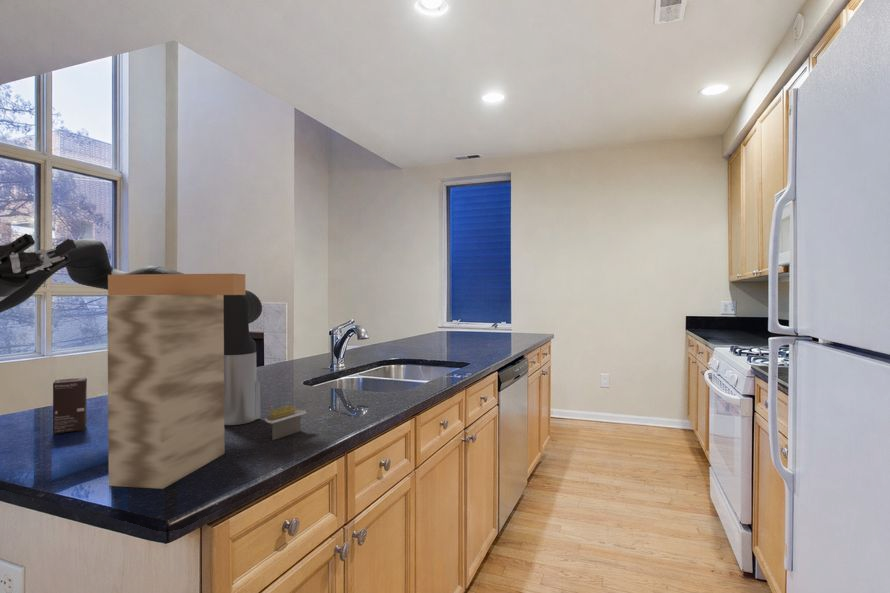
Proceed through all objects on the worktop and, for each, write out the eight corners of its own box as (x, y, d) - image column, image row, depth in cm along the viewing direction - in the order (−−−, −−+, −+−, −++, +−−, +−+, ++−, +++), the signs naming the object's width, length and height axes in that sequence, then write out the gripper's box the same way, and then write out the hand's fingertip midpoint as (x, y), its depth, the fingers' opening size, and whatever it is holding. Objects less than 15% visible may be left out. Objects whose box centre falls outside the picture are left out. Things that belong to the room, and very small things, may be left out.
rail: (108, 295, 90) (107, 274, 90) (124, 295, 94) (124, 275, 94) (233, 294, 87) (233, 273, 87) (245, 294, 91) (245, 274, 91)
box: (52, 435, 106) (52, 382, 106) (55, 430, 110) (54, 379, 110) (85, 430, 110) (85, 379, 110) (87, 426, 113) (86, 377, 113)
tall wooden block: (108, 485, 78) (107, 295, 78) (179, 451, 95) (177, 295, 95) (163, 488, 77) (161, 295, 76) (224, 453, 94) (223, 294, 93)
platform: (232, 443, 101) (232, 413, 101) (296, 423, 117) (296, 397, 117) (268, 452, 95) (268, 421, 95) (331, 430, 111) (331, 402, 111)
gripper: (-59, 263, 87) (6, 218, 85) (20, 267, 101) (77, 229, 99) (-41, 298, 87) (24, 253, 85) (35, 297, 101) (93, 259, 99)
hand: (53, 240), depth 92 cm, fingers open, 8 cm apart
